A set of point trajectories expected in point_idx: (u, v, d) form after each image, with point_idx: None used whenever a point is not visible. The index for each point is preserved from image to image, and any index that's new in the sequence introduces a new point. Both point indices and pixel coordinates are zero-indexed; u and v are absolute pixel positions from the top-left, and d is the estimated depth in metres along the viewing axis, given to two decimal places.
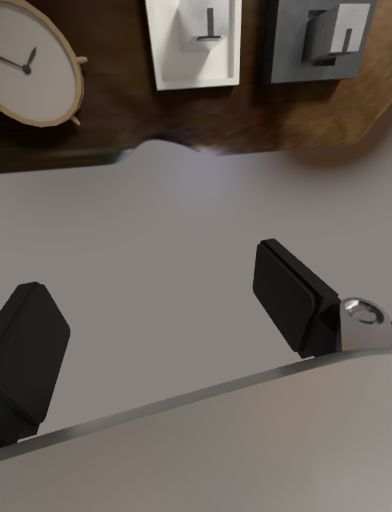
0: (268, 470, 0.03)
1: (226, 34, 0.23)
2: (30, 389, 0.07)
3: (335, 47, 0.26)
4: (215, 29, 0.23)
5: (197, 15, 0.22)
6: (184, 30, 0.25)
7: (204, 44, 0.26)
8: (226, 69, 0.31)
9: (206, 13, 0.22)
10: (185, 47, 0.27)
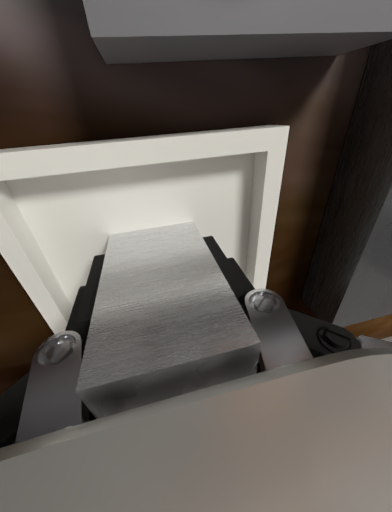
0: (268, 470, 0.03)
1: None
2: None
3: None
4: None
5: None
6: None
7: None
8: None
9: None
10: None
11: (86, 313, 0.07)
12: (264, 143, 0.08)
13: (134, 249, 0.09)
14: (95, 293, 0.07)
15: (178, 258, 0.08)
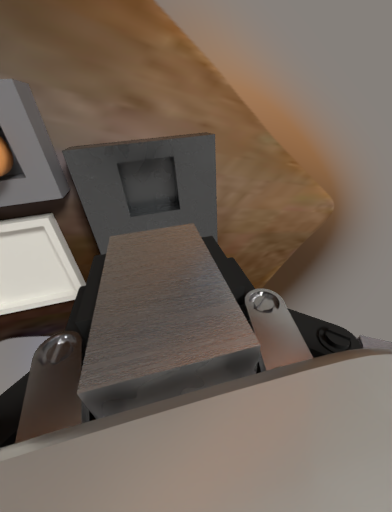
0: (268, 470, 0.03)
1: None
2: None
3: None
4: None
5: None
6: None
7: None
8: (71, 284, 0.29)
9: None
10: None
11: (86, 313, 0.07)
12: (40, 223, 0.23)
13: (135, 251, 0.09)
14: (95, 293, 0.07)
15: (178, 260, 0.08)
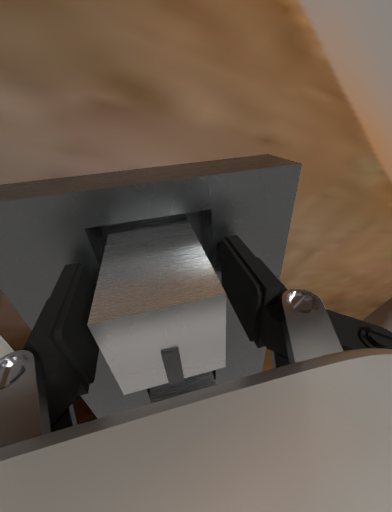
0: (268, 470, 0.03)
1: (219, 366, 0.09)
2: (84, 352, 0.08)
3: None
4: (188, 370, 0.08)
5: (132, 368, 0.07)
6: None
7: None
8: None
9: (160, 359, 0.07)
10: None
11: (43, 331, 0.06)
12: None
13: (132, 233, 0.10)
14: (57, 307, 0.07)
15: (168, 240, 0.10)
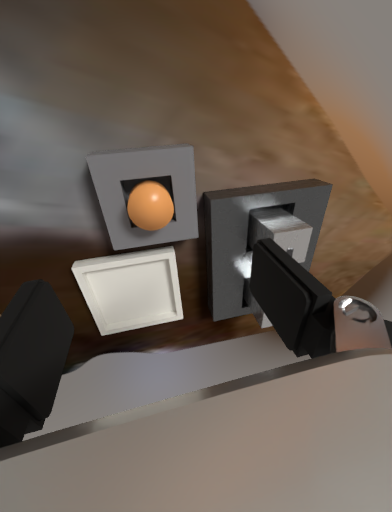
0: (268, 470, 0.03)
1: (302, 261, 0.23)
2: (36, 384, 0.07)
3: (266, 324, 0.27)
4: None
5: None
6: (254, 240, 0.25)
7: None
8: (171, 306, 0.32)
9: None
10: (251, 247, 0.26)
11: None
12: (166, 256, 0.26)
13: (260, 212, 0.25)
14: (0, 337, 0.06)
15: (278, 214, 0.24)
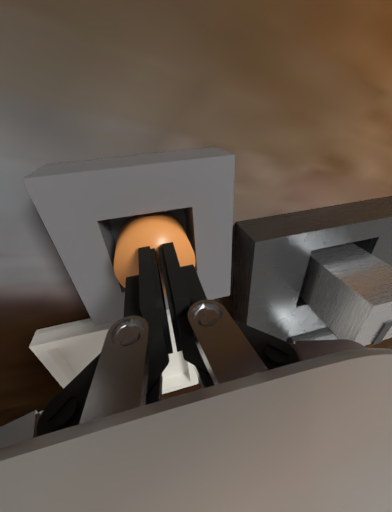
0: (268, 470, 0.03)
1: None
2: (167, 324, 0.08)
3: None
4: (385, 336, 0.14)
5: (366, 332, 0.13)
6: (313, 293, 0.16)
7: None
8: (181, 368, 0.23)
9: (380, 327, 0.13)
10: (304, 300, 0.18)
11: (148, 299, 0.07)
12: None
13: (322, 251, 0.16)
14: (150, 281, 0.08)
15: (354, 256, 0.15)
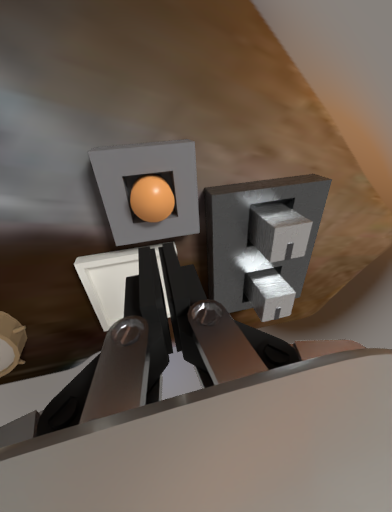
0: (268, 470, 0.03)
1: (302, 255, 0.23)
2: (167, 324, 0.08)
3: (266, 318, 0.28)
4: (292, 254, 0.23)
5: (277, 249, 0.22)
6: (254, 235, 0.25)
7: None
8: None
9: (286, 246, 0.22)
10: (252, 242, 0.26)
11: (148, 299, 0.07)
12: None
13: (260, 207, 0.25)
14: (150, 281, 0.08)
15: (278, 209, 0.24)
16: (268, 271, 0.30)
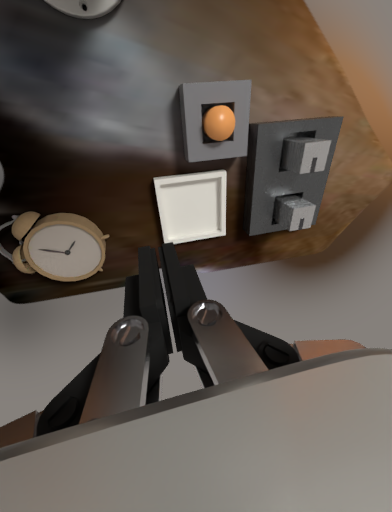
0: (268, 470, 0.03)
1: (322, 170, 0.32)
2: (167, 324, 0.08)
3: (293, 228, 0.36)
4: (315, 168, 0.32)
5: (305, 162, 0.31)
6: (286, 159, 0.34)
7: None
8: (216, 225, 0.41)
9: (312, 160, 0.31)
10: (283, 167, 0.35)
11: (148, 299, 0.07)
12: (220, 175, 0.35)
13: (290, 139, 0.34)
14: (150, 281, 0.08)
15: (304, 138, 0.33)
16: (292, 197, 0.39)
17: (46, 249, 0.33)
